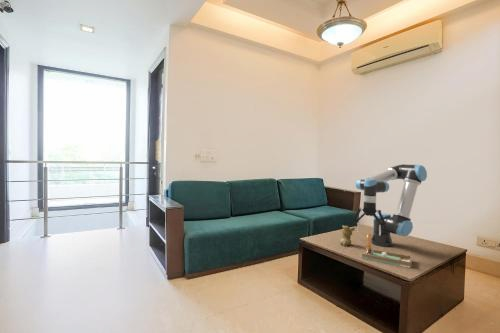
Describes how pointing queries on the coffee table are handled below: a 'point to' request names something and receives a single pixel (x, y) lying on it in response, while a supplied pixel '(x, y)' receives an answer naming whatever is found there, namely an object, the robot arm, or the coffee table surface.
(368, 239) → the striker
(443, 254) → the coffee table surface
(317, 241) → the coffee table surface
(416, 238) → the coffee table surface
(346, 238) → the figurine
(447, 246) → the coffee table surface
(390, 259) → the pitch
